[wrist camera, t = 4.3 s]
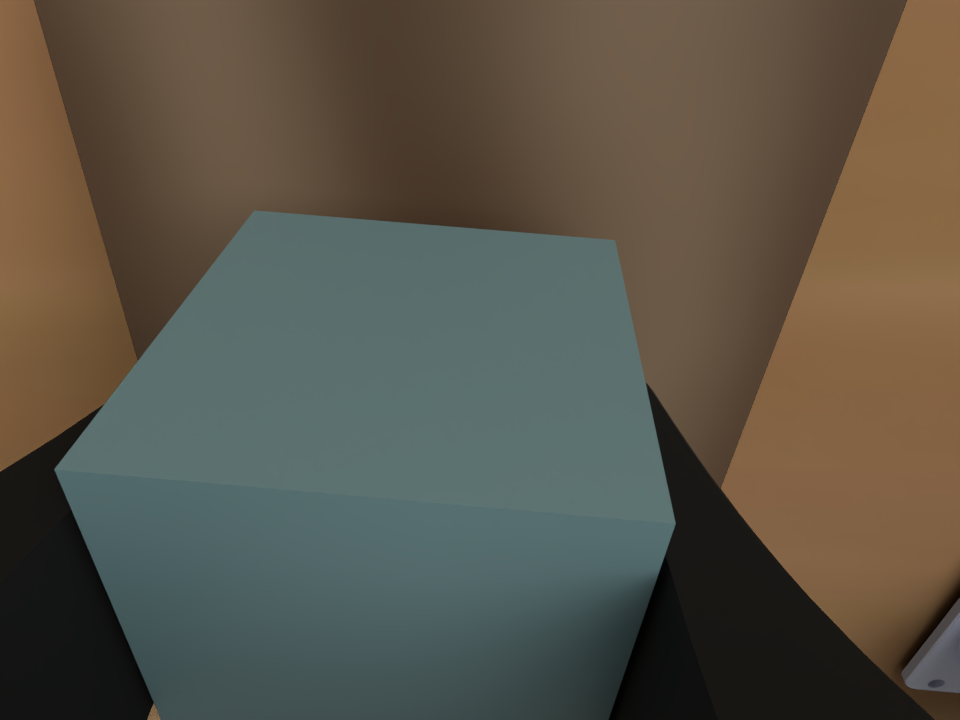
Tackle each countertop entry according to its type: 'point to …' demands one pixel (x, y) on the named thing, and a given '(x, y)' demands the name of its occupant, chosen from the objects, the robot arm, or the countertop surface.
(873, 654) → the countertop surface
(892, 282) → the countertop surface
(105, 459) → the teal cube
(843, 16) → the walnut block
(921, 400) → the countertop surface
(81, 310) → the countertop surface
